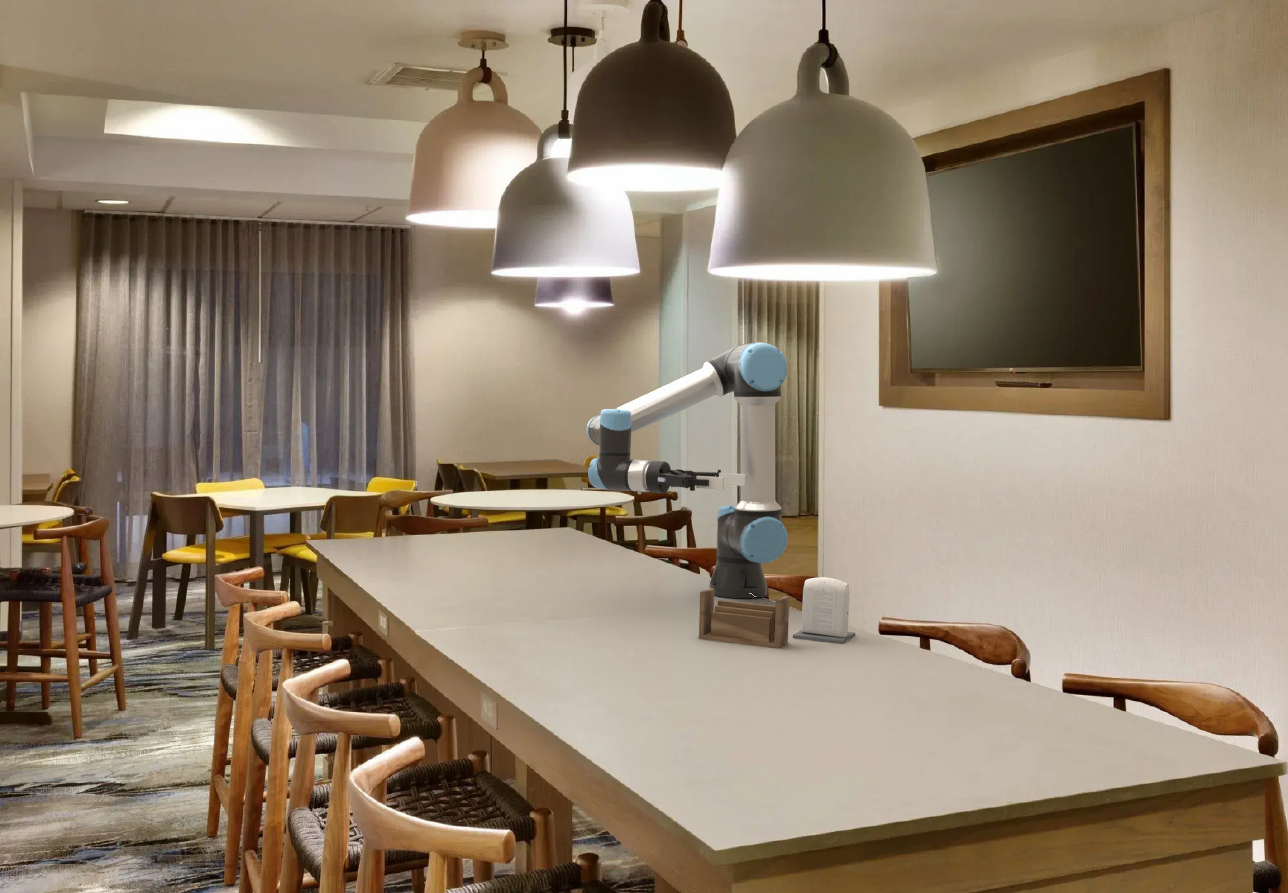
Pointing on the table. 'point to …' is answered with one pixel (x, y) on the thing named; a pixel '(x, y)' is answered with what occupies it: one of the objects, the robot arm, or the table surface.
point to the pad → (823, 637)
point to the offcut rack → (744, 621)
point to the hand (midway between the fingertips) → (734, 481)
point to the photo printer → (825, 607)
